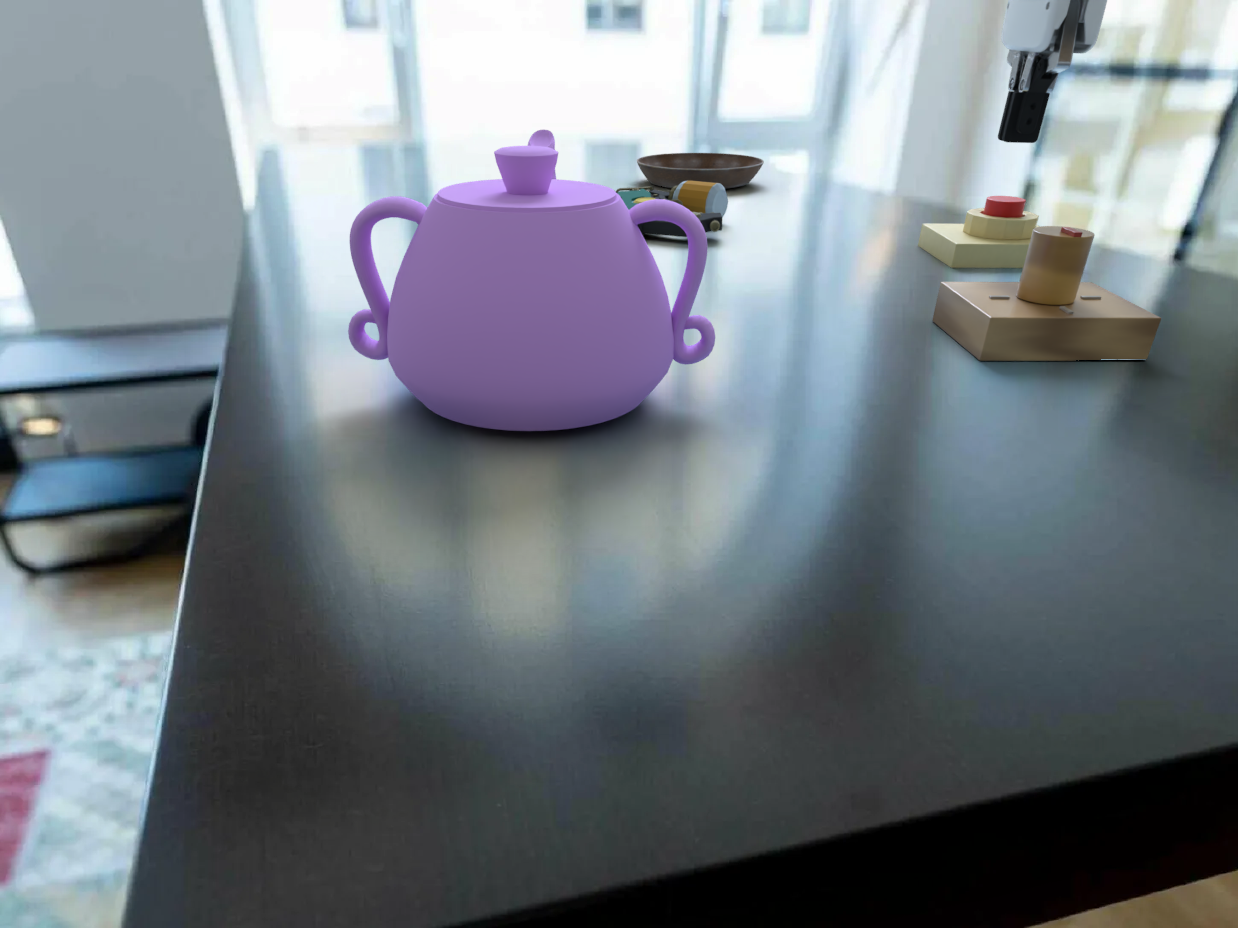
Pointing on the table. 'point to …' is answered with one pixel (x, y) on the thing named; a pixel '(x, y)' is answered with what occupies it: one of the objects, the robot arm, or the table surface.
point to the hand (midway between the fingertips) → (1016, 141)
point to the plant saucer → (699, 168)
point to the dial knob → (1054, 265)
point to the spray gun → (693, 195)
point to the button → (1004, 206)
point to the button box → (980, 240)
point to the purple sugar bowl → (529, 298)
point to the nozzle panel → (1043, 324)
